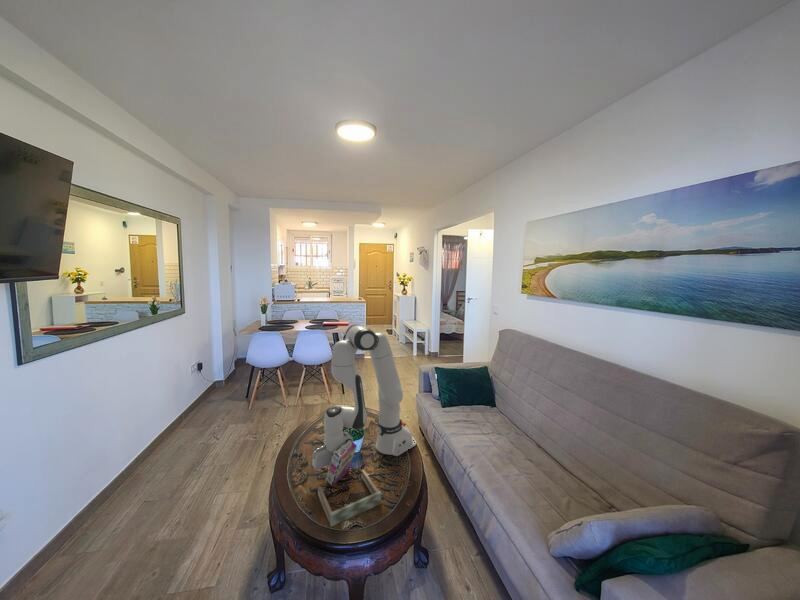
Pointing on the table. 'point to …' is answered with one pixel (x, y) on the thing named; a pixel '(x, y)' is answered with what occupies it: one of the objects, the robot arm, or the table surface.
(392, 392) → the robot arm
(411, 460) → the table surface
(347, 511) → the dock
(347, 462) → the candy bar box
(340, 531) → the table surface
